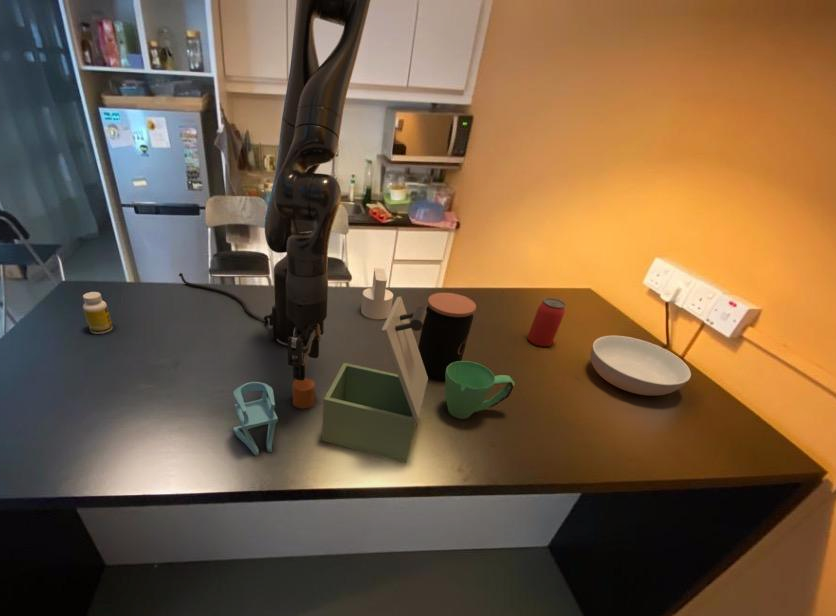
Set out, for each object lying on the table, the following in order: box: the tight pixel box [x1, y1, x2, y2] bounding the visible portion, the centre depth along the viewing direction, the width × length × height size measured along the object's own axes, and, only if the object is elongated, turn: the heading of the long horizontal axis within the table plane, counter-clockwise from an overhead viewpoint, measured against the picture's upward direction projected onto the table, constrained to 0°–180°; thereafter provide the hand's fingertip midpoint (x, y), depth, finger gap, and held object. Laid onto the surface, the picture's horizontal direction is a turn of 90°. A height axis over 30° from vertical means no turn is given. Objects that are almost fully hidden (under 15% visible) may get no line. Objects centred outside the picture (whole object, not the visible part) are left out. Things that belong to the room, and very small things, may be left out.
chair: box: [233, 381, 279, 457], centre depth 78 cm, size 8×8×12 cm
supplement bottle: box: [82, 291, 114, 335], centre depth 109 cm, size 5×5×10 cm
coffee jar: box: [417, 292, 477, 381], centre depth 100 cm, size 11×11×18 cm
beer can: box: [527, 297, 566, 348], centre depth 116 cm, size 7×7×12 cm
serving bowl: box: [590, 335, 692, 397], centre depth 104 cm, size 21×21×7 cm
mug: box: [444, 360, 515, 420], centre depth 90 cm, size 15×10×10 cm
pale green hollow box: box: [321, 362, 418, 463], centre depth 83 cm, size 17×13×10 cm
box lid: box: [381, 296, 429, 420], centre depth 73 cm, size 18×13×5 cm
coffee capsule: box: [292, 377, 315, 410], centre depth 91 cm, size 5×5×5 cm
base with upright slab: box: [360, 267, 394, 320], centre depth 125 cm, size 9×9×12 cm
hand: (306, 367), depth 87 cm, fingers open, 8 cm apart
